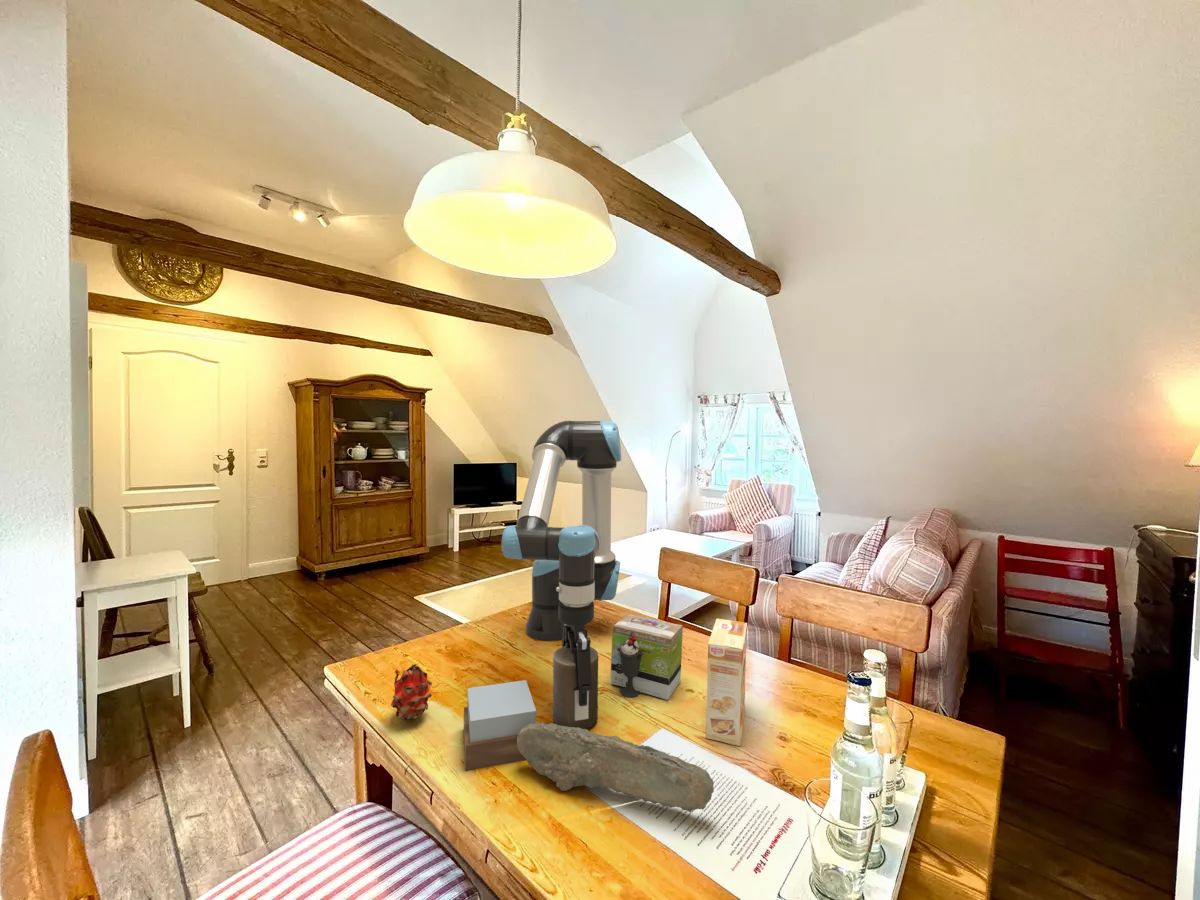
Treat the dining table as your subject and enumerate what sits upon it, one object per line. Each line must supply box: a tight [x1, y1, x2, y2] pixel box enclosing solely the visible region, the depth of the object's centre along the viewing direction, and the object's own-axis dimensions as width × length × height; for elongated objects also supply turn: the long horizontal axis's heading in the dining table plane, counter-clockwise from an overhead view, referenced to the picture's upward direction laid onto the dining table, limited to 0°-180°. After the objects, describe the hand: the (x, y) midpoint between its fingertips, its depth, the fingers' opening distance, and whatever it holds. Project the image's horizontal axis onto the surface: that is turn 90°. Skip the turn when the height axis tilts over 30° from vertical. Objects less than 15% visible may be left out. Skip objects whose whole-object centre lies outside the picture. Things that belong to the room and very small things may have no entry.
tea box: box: [610, 613, 684, 701], centre depth 118 cm, size 15×10×15 cm, turn 64°
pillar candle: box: [552, 646, 599, 730], centre depth 103 cm, size 10×10×15 cm
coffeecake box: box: [705, 618, 748, 747], centre depth 103 cm, size 15×7×20 cm, turn 160°
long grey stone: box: [517, 722, 715, 813], centre depth 82 cm, size 35×5×10 cm, turn 72°
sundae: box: [617, 632, 644, 698], centre depth 115 cm, size 7×7×15 cm
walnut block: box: [463, 706, 527, 772], centre depth 96 cm, size 13×13×5 cm
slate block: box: [466, 679, 537, 743], centre depth 96 cm, size 12×12×4 cm
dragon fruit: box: [390, 663, 433, 721], centre depth 103 cm, size 8×8×12 cm
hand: (575, 704), depth 103 cm, fingers closed on pillar candle, 10 cm apart
